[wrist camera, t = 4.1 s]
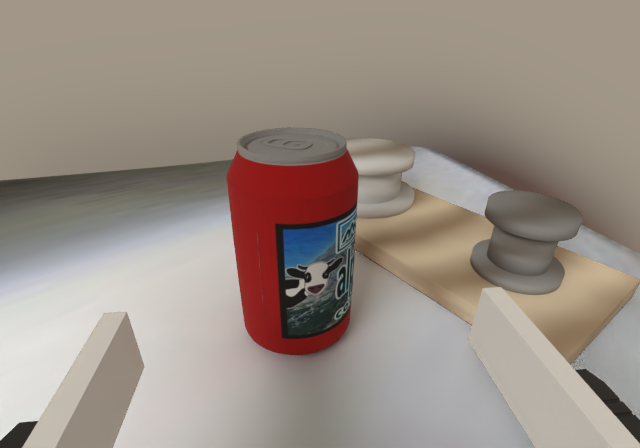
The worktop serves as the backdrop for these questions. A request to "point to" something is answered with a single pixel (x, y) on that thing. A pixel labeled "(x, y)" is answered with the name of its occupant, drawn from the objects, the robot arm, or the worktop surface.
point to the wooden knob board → (484, 250)
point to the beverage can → (294, 236)
